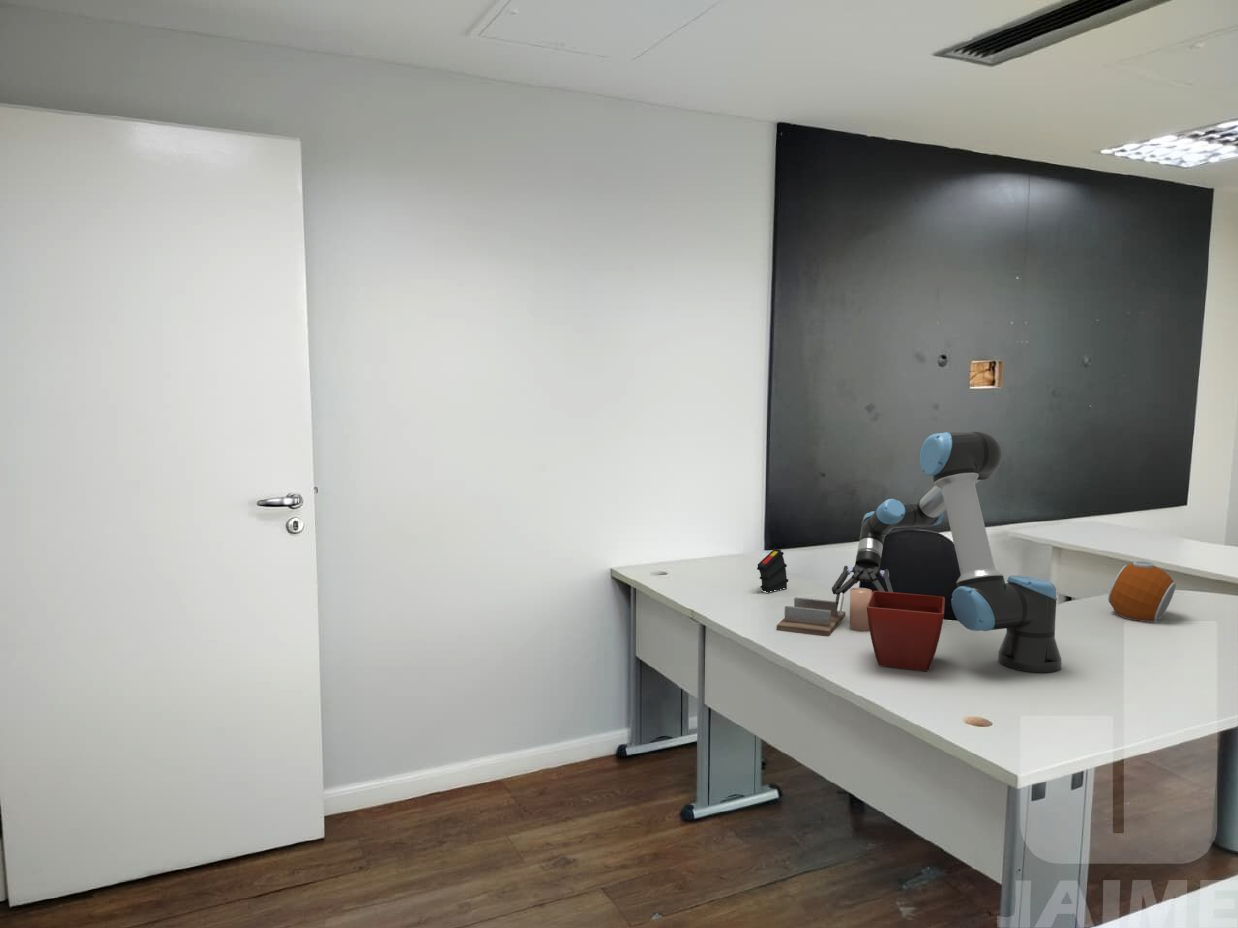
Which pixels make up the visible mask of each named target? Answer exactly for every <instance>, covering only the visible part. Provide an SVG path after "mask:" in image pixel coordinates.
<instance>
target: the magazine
mask: <svg viewBox="0 0 1238 928" xmlns="http://www.w3.org/2000/svg"><path fill="white" fill-rule="evenodd" d="M784 554H785V552H784V551H782V550H781V549H778V548H774V549H772V550H771V552H769V553H768V554H767V555H766V556H765V557H764V558H762V560H760V562H759V563H758V564H757V567H756V570H757V571H759V574H760V577H758V578H759V579H760V581H761V585H760V587H759V588H760V589H761V591H762V590H763V591H766V592H770V591H774V590H779V591H781V590H780V589H783V588H787V589H788V584H787V583H789V578H787V569H786V568H787V567H788V564H787V563H785V562H786V561H785V559H784ZM783 590H784V589H783Z"/></svg>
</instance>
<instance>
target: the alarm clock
mask: <svg viewBox="0 0 1238 928" xmlns="http://www.w3.org/2000/svg"><path fill="white" fill-rule="evenodd" d="M1176 584H1177V583H1176V582H1174V580H1173V579H1172V577H1171V575H1169V574H1168V573H1167V572H1166V571H1165V570H1163V569H1161V568H1160V567H1157V566H1156V565H1155V564H1154V563H1153V562H1150V561H1140V560H1138V561H1133V563H1131V564H1125V565H1123V566H1122V568H1121V569H1120V571H1118V573H1117V575H1116V577H1115V579H1114V580H1113V583H1112V585H1111V588H1110V590H1109V593H1108V596H1107V598H1108V599H1107V601H1108V603H1109V604H1110V606H1111V607H1112V608H1113V610H1114V612H1116V613H1117V614H1118V615H1120V616H1119V617H1122V618H1124V619H1125V618H1126V619H1128V620H1132V619H1134V620H1133V621H1136V620H1140V621H1139V622H1145V621H1156V622H1157V621H1159V620H1160V619H1161V618H1163V616H1164V615H1165V613H1166V611H1167V609H1168V607H1169V606H1170V604H1171V601H1172V599H1173V596H1174V594H1175V590H1176ZM1158 619H1159V620H1158Z"/></svg>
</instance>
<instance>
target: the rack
mask: <svg viewBox="0 0 1238 928" xmlns="http://www.w3.org/2000/svg"><path fill="white" fill-rule="evenodd" d="M793 599H794V600H793V601H794V602H793V603H794V604H793V606H792V605H785V606H784V618H783V619H782V620H781V621H779V622H778V623H777V624H776V631H783V632H791V633H797V634H798V633H799V634H807V635H815V636H816V635H817V636H822V637H823V636H824V637H830V636H831V634H832V633H833V632H834V630H835V629H836V628H837V627H838V626H839V624H841V622H842V621H843V620H844V618H846V614H847V613H846V611H844V610H842V612H841V616H840V615H838V612H837V608H838V605H837V604H836V600H828V599H827V600H825V599H817V598H806V597H794V598H793Z"/></svg>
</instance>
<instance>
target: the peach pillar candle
mask: <svg viewBox="0 0 1238 928" xmlns="http://www.w3.org/2000/svg"><path fill="white" fill-rule="evenodd" d="M872 592H873V590H872V589H870V588H866V587H853V588H852V587H851V588H850V589H849V601H850V602H849V629H850V630H851V631H855V632H863V633H864V632H870V630H869V623H868V616H867V604H868V602H869V600H870V598H871V595H872Z"/></svg>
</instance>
